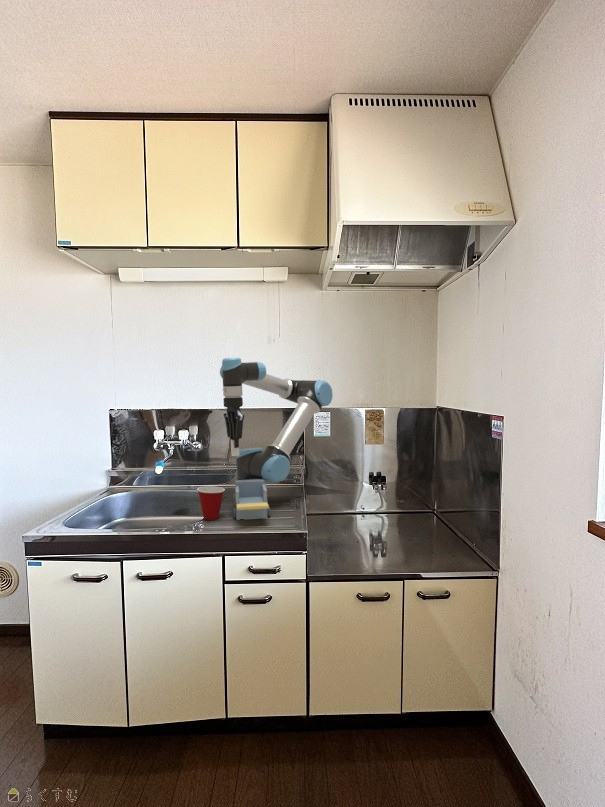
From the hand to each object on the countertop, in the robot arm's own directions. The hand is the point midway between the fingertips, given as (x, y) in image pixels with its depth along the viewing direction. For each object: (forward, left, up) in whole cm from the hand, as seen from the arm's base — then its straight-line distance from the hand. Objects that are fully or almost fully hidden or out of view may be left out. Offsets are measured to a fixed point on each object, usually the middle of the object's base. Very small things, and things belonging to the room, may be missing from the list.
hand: (235, 455), depth 188 cm
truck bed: (-4, +5, -24) cm, 25 cm away
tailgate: (+2, +10, -18) cm, 21 cm away
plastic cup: (+9, -4, -24) cm, 26 cm away
